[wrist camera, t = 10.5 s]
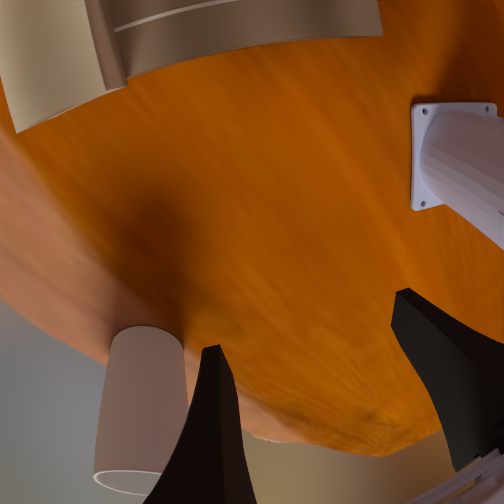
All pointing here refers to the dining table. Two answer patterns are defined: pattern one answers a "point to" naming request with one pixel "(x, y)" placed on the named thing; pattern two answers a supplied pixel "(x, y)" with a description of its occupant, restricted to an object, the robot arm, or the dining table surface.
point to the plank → (229, 26)
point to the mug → (140, 409)
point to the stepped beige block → (56, 56)
